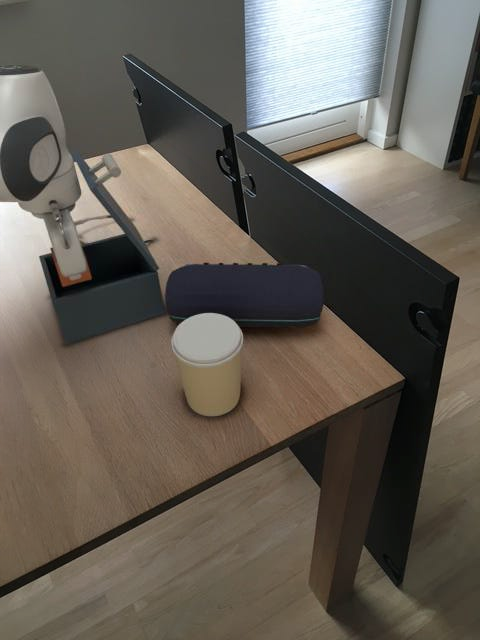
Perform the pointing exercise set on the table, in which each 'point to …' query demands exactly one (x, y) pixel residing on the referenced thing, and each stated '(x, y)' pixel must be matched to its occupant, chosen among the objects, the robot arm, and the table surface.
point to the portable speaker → (246, 294)
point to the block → (66, 280)
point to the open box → (105, 290)
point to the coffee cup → (209, 362)
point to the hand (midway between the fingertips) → (71, 266)
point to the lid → (112, 200)
